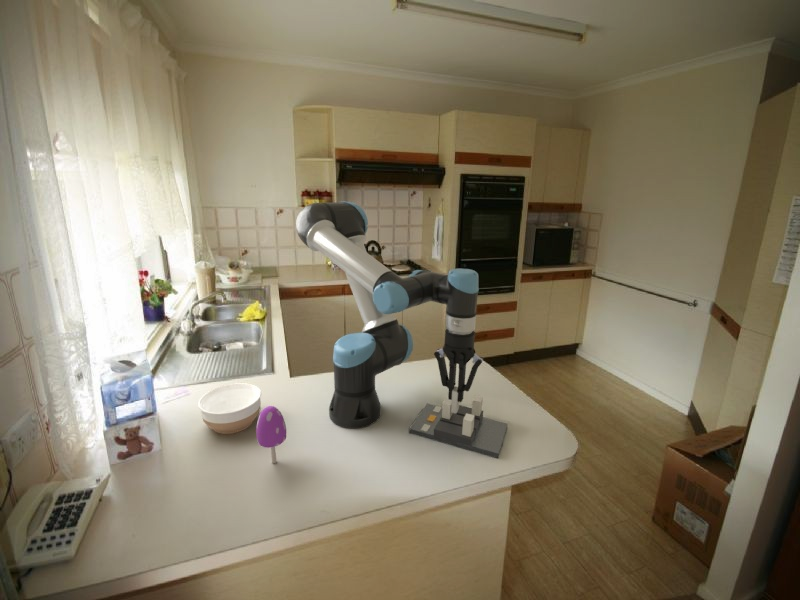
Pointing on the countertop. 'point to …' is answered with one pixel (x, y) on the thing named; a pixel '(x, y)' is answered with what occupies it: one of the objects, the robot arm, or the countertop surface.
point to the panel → (483, 443)
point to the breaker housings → (461, 423)
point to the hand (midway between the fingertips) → (454, 410)
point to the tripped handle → (446, 409)
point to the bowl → (230, 407)
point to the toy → (271, 429)
